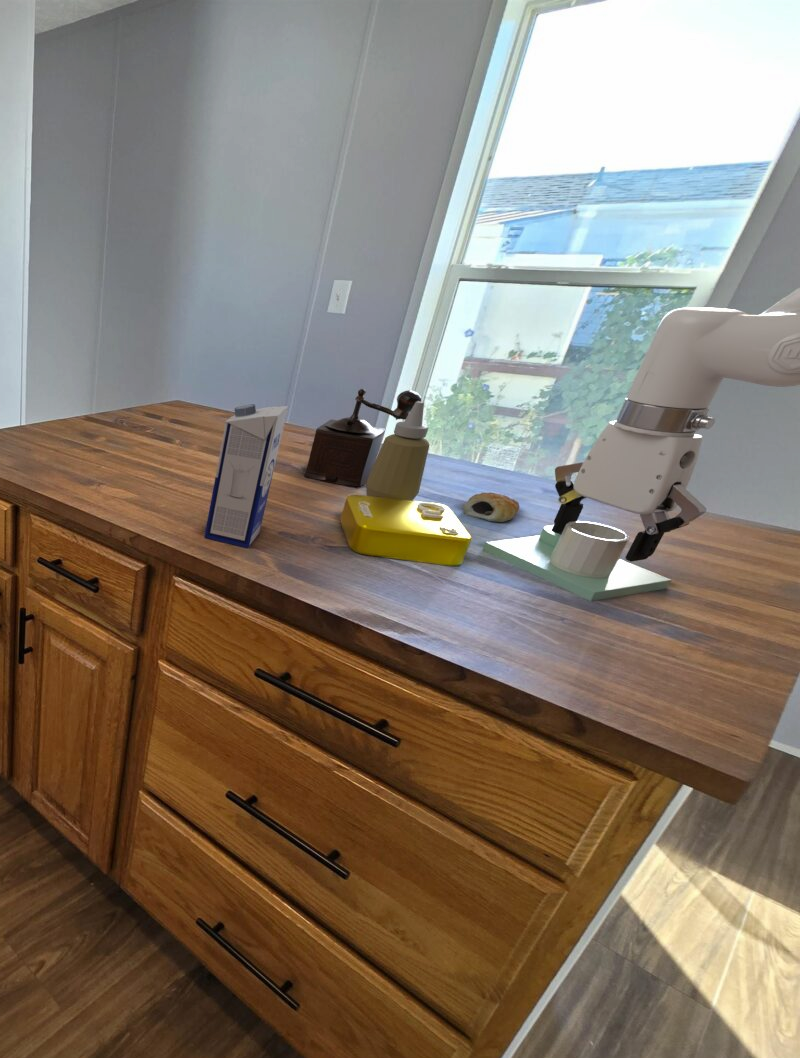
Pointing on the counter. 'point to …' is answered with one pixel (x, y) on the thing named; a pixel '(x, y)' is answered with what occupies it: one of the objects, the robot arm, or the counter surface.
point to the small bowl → (589, 549)
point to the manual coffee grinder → (352, 443)
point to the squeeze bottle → (401, 459)
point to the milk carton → (244, 474)
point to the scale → (536, 560)
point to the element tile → (404, 530)
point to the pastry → (491, 507)
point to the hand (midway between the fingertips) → (596, 544)
